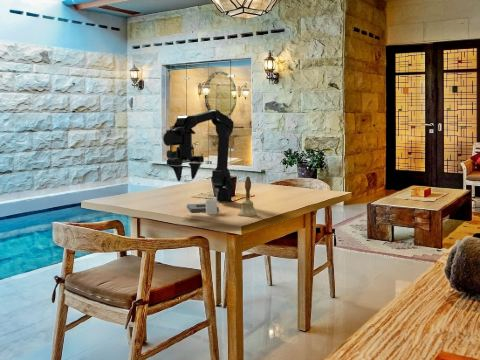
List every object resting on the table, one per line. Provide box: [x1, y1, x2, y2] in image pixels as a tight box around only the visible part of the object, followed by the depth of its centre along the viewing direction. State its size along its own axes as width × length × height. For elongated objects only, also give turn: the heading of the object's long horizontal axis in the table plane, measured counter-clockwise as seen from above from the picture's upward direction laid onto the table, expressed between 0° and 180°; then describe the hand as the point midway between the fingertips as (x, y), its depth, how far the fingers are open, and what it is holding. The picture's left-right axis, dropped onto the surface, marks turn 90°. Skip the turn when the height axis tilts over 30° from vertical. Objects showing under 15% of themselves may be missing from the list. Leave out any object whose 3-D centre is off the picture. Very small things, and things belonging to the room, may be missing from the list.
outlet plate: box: [186, 202, 220, 213], centre depth 229 cm, size 12×12×2 cm
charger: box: [205, 198, 218, 215], centre depth 219 cm, size 4×4×6 cm
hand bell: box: [237, 176, 258, 217], centre depth 215 cm, size 8×8×16 cm
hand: (186, 179), depth 230 cm, fingers open, 9 cm apart
